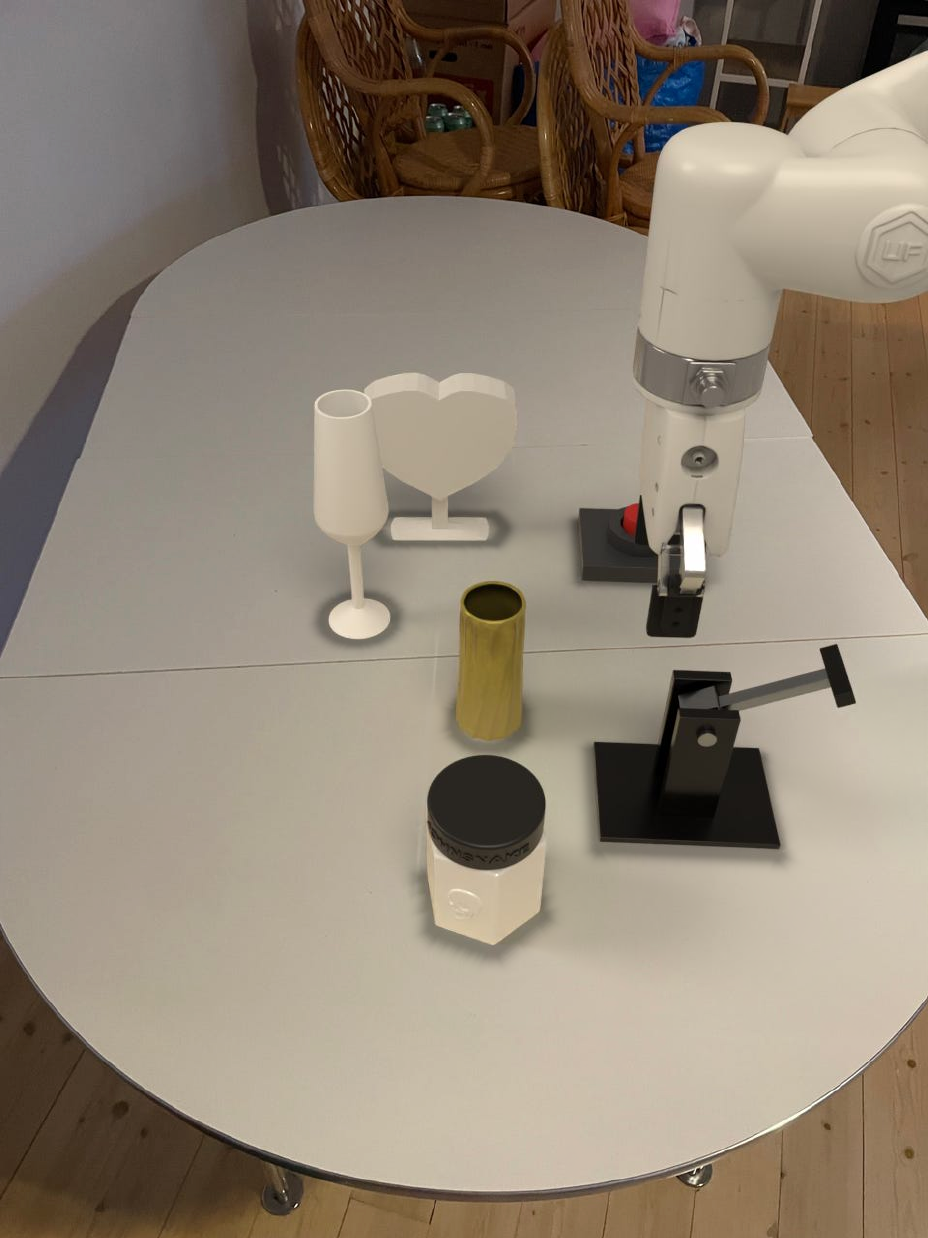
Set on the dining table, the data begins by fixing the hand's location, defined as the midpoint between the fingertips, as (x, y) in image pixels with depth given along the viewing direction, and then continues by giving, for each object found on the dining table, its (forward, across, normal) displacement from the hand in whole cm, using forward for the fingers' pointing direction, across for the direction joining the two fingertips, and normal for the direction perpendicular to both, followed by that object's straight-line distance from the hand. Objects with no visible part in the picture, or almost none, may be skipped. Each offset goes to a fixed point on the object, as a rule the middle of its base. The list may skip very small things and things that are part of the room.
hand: (662, 586), depth 72 cm
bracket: (+22, -1, -4) cm, 23 cm away
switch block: (+22, +32, -3) cm, 39 cm away
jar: (+22, -11, +12) cm, 28 cm away
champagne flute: (+22, +20, +25) cm, 39 cm away
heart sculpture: (+22, +35, +18) cm, 45 cm away
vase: (+22, +7, +12) cm, 26 cm away
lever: (+11, -1, -9) cm, 14 cm away
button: (+19, +32, -3) cm, 37 cm away
